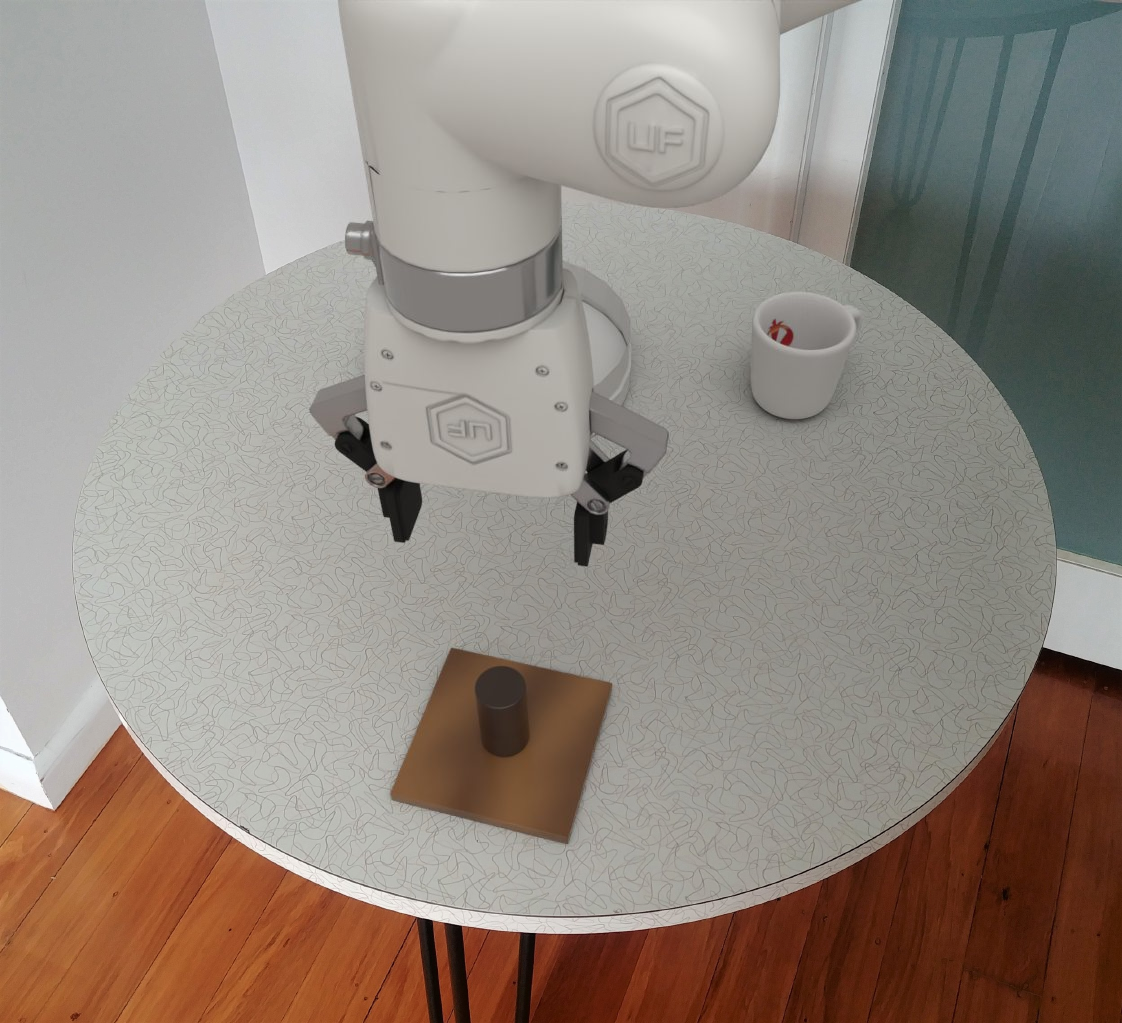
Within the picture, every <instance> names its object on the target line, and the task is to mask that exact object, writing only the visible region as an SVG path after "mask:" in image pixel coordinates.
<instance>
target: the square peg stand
mask: <svg viewBox="0 0 1122 1023" xmlns="http://www.w3.org/2000/svg"><path fill="white" fill-rule="evenodd" d="M612 690H613V683H612V682H610V681H605V680H604V681H603V680H600V679H595V678H591V677H587V676H582V675H578V674H573V673H569V672H565V671H564V672H563V671H559V670H555V669H550V668H545V667H540V666H536V665H533V664H529V663H523V662H519V661H513V660H510V659H506V658H500V657H495V656H491V655H488V654H482V653H478V652H473V651H469V650H464V649H460V648H455V647H450V649H449V652H448V654H447V657H446V659H445V662H444V663H443V666H442V668H441V670H440V673H439V675H438V678H437V681H436V683H435V685H434V688H433V690H432V693H431V694H430V697H429V700H428V702H427V704H426V707H425V709H424V711H423V713H422V716H421V719H420V721H419V724H418V725H417V728H416V731H415V732H414V736H413V738H412V740H411V742H410V745H409V748H408V750H407V752H406V755H405V757H404V759H403V762H402V764H401V766H400V769H399V771H398V774H397V776H396V778H395V781H394V783H393V785H392V788H391V791H390V793H389V795H390V798H391V801H396V802H399V803H403V804H407V805H410V806H415V807H418V808H423V809H427V810H429V811H430V810H431V811H434V812H438V813H442V814H447V815H450V816H455V817H457V818H463V819H466V820H470V821H475V822H478V823H481V824H482V823H483V824H486V825H489V826H493V827H498V828H501V829H506V830H510V831H513V832H518V833H522V834H526V835H530V836H533V837H537V838H540V839H545V840H550V841H554V842H558V843H561V844H566V845H568V844H569V843H570V840H571V837H572V836H571V835H572V832H573V829H574V825H575V821H576V818H577V814H578V811H579V808H580V803H581V801H582V797H583V793H584V790H585V786H586V783H587V779H588V776H589V772H590V768H591V765H592V761H593V759H594V755H595V751H596V748H597V744H598V740H599V737H600V735H601V734H600V733H601V730H602V726H603V723H604V719H605V717H606V716H605V715H606V712H607V709H608V705H609V702H610V698H611V695H612V692H613V691H612Z"/></svg>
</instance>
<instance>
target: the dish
mask: <svg viewBox="0 0 1122 1023" xmlns="http://www.w3.org/2000/svg"><path fill="white" fill-rule="evenodd" d="M563 268H565V269H568V270H570V271H571V272H572V274H573V275H574V277H575V279H576V282H577V285H578V289H579V292H580V296H581V300H582V304H583V308H584V312H585V317H586V322H587V328H588V334H589V341H590V349H591V357H592V367H593V377H594V390H595V393H597V394H599V395H601V396H603V397H605V398H607V399H609V400H611V401H613V402H615V403H617V404H619V405H621V406H623V404H624V403H625V400H626V398H627V395H628V394H629V391H630V388H631V386H630V385H631V384H630V382H631V379H630V378H631V370H632V352H633V350H632V347H633V346H632V344H631V341H630V340H631V338H630V337H631V336H630V335H631V334H630V333H631V319H630V318H631V317H630V316H629V314H628V311H627V309H626V306H625V304H624V301H623V299H622V298H621V297H620V295H619V294H618V293H616V292H615V290H614V289H613V288H612V287H611V286H610V285H609V284H608V283H607V281H605V280H603V279H601V278H600V277H599V276H597V275H595V274H594V273H592V272H590V271H589V270H588V269H585V267H582V266H578V265H576V264H573V263H570V262H568V261H565V260H563ZM595 435H597V434H595V433H592V435H591V436H590V439H591V438H592V437H594V436H595Z"/></svg>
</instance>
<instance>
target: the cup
mask: <svg viewBox="0 0 1122 1023" xmlns="http://www.w3.org/2000/svg"><path fill="white" fill-rule="evenodd" d="M863 323H864V316H863V313H862V312H861V310H860V309H858V308H856V307H855V306H854V305H850V304H845V305H843V304H842V303H840V302H839V301H837V300H835V299H833V298H831V297H828V296H826V295H822V294H820V293H815V292H809V291H787V292H782V293H781V292H780V293H777V294H775V295H772V296H769V297H768V298H766V299H764V300H763V301H762V302H761V303H760V304H759V305H758V306H757V307H756V308H755V310H754V312H753V314H752V317H751V342H750V344H751V346H750V348H751V349H750V387H751V392H752V393H751V394H752V396H753V398H754V401H756V403H757V404H758V405H759V407H761V408H762V410H764V411H766V412H767V413H768V414H770V415H773V416H775V417H778V418H781V419H787V420H804V419H808V418H811V417H814V416H816V415H818V414H820V413H821V412H823V410H825V408H826V407H827V406H828V405H829V404H830V403H831V400H832V398H833V397H834V394H835V392H836V389H837V387H838V384H839V381H840V378H841V376H842V374H843V370H844V368H845V365H846V362H847V359H848V357H849V355H850V351H851V349H853V347H854V346H855V344H856V342H857V340H858V338H859V336H860V333H861V331H862V327H863Z"/></svg>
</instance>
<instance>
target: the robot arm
mask: <svg viewBox="0 0 1122 1023" xmlns="http://www.w3.org/2000/svg"><path fill="white" fill-rule="evenodd" d="M861 1H862V0H337V6H338V14H339V22H340V28H341V35H342V39H343V46H344V52H345V59H346V64H347V71H348V72H347V73H348V76H349V77H348V78H349V83H350V88H351V95H352V102H353V107H354V113H355V120H356V125H357V131H358V137H359V144H360V149H361V155H362V156H361V157H362V161H363V162H362V163H363V169H364V174H365V180H366V187H367V192H368V193H367V194H368V198H369V204H370V211H371V217H372V220H366V221H365V222H353V221H350V222H349V223H348V224H347V226H346V229H345V233H344V246H345V250H346V253H347V254H348V255H351V256H361V257H363V258H364V259H365V260H367V261H371V262H372V264H373V265H374V267H375V271H376V277H375V279H373V281H372V282H371V284H370V285H369V287H368V289H367V291H366V295H365V302H364V303H365V304H364V316H363V323H364V324H363V360H364V362H363V363H364V364H363V365H364V366H363V367H364V374H362V375H360V376H356V377H353V378H350V379H347V380H344V381H342V382H338V383H336V384H332V385H330V386H326V387H324V388H321V389H319V390H318V391H317V393H316V395H315V397H314V398H313V401H312V403H311V405H310V407H309V409H308V410H309V414H310V415H311V416H312V418H313V419H314V420H315V422H317V424H318V425H319V426H320V427H321V429H322V430H323V431H324V432H325V433H326V434H327V436H328V437H332V438H333V440H335V441H334V448H335V449H336V450H337V452H339V453H340V454H341V455H343V456H344V457H346V458H347V459H348V460H349V461H350V462H352V463H354V464H355V465H356V466H358V468H360V469H362V470H363V471H364V472H365V475H364V479H365V481H366V484H368V485H369V486H372V487H373V488H377V492H378V497H379V502H380V508H381V512H382V516H383V517H384V518H387V519H389V523H390V527H391V532H392V538H393V542H395V543H402V544H405V543H406V542H409V541H410V539H411V536H412V533H413V531H414V528H415V525H416V522H417V520H418V517H419V515H420V511H421V509H422V507H423V495H422V489H421V485H427V486H436V487H443V488H450V489H451V488H452V489H457V490H458V489H459V490H465V491H466V490H467V491H475V492H481V493H482V492H483V493H491V494H501V495H508V496H517V497H525V498H526V497H528V498H539V499H559V498H563V497H568V496H571V497H572V498H573V499H574V500H575V501H576V504H575V509H574V513H573V562H574V563H576V564H577V566H578V567H589V563H590V559H591V555H592V553H591V552H592V549H593V545H600V546H605V543H606V538H607V534H608V524H609V508H610V504H612V503H613V502H615V501H618V500H619V499H621V498H622V497H624V496H626V495H628V494H630V493H631V492H633V491H635V490H637V489H639V488H640V487H641V486H642V484H643V480H644V478H645V477H646V476H647V475H648V474H650V473H651V472H652V471H653V470H654V469H655V467H656V466H657V465H658V464H659V463H660V462H661V461H662V459H663V458H664V457H665V456H666V454H667V449H668V445H669V444H668V443H669V438H670V433H669V430H668V429H667V428H666V427H664V426H662V425H660V424H658V423H656V422H655V421H653V420H650V419H648V418H647V417H645V416H643V415H640V414H638V413H637V412H635V411H633V410H631V409H629V408H626V407H625V406H623V405H622V406H621V405H619V404H617V403H615V402H613V401H611V400H609V399H607V398H605V397H603V396H601V395H599V394H597V393H595V390H594V377H593V367H592V357H591V349H590V341H589V334H588V328H587V322H586V317H585V312H584V308H583V304H582V300H581V296H580V292H579V289H578V285H577V282H576V279H575V277H574V275H573V274H572V272H571V271H570V270H568V269H565V268H563V261H564V260H563V258H564V256H563V255H564V254H563V212H562V211H563V210H562V209H563V208H562V207H563V206H562V204H563V203H562V187H565V188H569V189H572V190H576V191H579V192H583V193H586V194H589V195H593V196H597V197H600V198H604V199H607V200H611V201H616V202H619V203H623V204H626V205H627V204H628V205H633V206H640V207H646V208H656V209H658V208H659V209H680V208H688V207H689V208H690V207H695V206H697V205H702V204H706V203H709V202H712V201H714V200H716V199H719V198H720V197H723V196H724V195H726V194H728V193H729V192H731V191H732V190H734V189H735V188H737V187H738V186H740V184H741V183H743V182H744V181H745V180H746V179H747V178H748V177H749V176H750V175H751V174H752V172H753V171H754V170H755V169H756V167H757V166H758V165H759V163H760V162H761V160H762V159H763V157H764V155H765V153H766V152H767V149H768V148H769V146H770V144H771V141H772V138H773V135H774V132H775V129H776V124H777V121H778V115H779V109H780V108H779V107H780V100H781V35H784V34H786V33H788V32H790V31H792V30H794V29H797V28H799V27H802V26H804V25H806V24H809V23H810V22H813V21H815V20H818V19H820V18H821V17H824V16H827V15H829V14H831V13H833V12H836V11H838V10H840V9H844V8H845V7H848V6H851V5H854V4H856V3H859V2H861ZM1095 1H1096V2H1104V3H1115V4H1117V3H1118V4H1122V0H1095ZM364 412H367V419H368V422H367V421H366V420H364V419H362V417H359V416H356V415H357V414H360V413H364ZM592 433H595V434H596V435H597V436H599V437H601V438H604V439H605V440H607V441H610V442H611V443H613V444H616V445H618V446H619V447H621V448H623V449H624V450H623V451H621V452H620V453H617V454H616V455H614V456H613V457H611V458H610V457H609V456H608V455H607V454H606V453H605V452H604V451H603V450H602V449H601V448H600V447H598V445H597V444H596V443H595V442H594V441H592V439H591V438H590V436H591V435H592Z"/></svg>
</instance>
